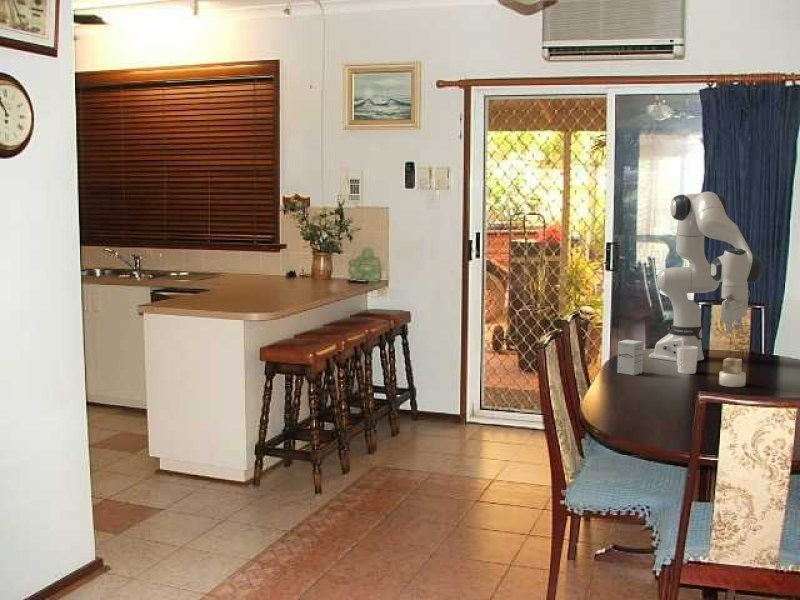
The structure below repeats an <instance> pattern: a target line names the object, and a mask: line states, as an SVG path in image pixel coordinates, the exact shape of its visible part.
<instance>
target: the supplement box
mask: <svg viewBox="0 0 800 600" xmlns="http://www.w3.org/2000/svg"><path fill="white" fill-rule="evenodd" d="M643 356H644V341H641V340H640V341H639V340H632V339H623V340H621V341H618V342H617V374H623V375H629V376H630V375H631V376H636V374H637V375H639V373H640V374H642V373H643V364H644V360H643V358H644V357H643Z"/></svg>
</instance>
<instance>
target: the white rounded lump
mask: <svg viewBox="0 0 800 600" xmlns="http://www.w3.org/2000/svg"><path fill="white" fill-rule="evenodd" d="M746 375H747V373H746V372H744V371H742V372H741V373H739V374H737V375H735V374H726V373H723V370H721V371H719V374H718V376H719V377H718V378H719V379H718V384H719V385H720V386H724V387H728V388H729V387H730V388H741V387H745V386H746V379H747V377H746Z"/></svg>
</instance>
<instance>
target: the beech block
mask: <svg viewBox="0 0 800 600" xmlns="http://www.w3.org/2000/svg"><path fill="white" fill-rule="evenodd" d="M722 362H723V364H722V365H723V366H722V367H723V368H722V371H723V373H726V374H735V375H737V374H739V373H741V372H743V371H742V367H743V359H742V358H737V357H736V358H735V357H727V358H724V359H723V361H722Z"/></svg>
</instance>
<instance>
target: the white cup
mask: <svg viewBox="0 0 800 600" xmlns="http://www.w3.org/2000/svg"><path fill="white" fill-rule="evenodd" d="M697 355H698V347H695V346H677V361H676V365H677V373H679V374H684V375H690V374H691V375H693V374H696V372H697V367H698V366H697V364H698V361H697Z"/></svg>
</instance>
